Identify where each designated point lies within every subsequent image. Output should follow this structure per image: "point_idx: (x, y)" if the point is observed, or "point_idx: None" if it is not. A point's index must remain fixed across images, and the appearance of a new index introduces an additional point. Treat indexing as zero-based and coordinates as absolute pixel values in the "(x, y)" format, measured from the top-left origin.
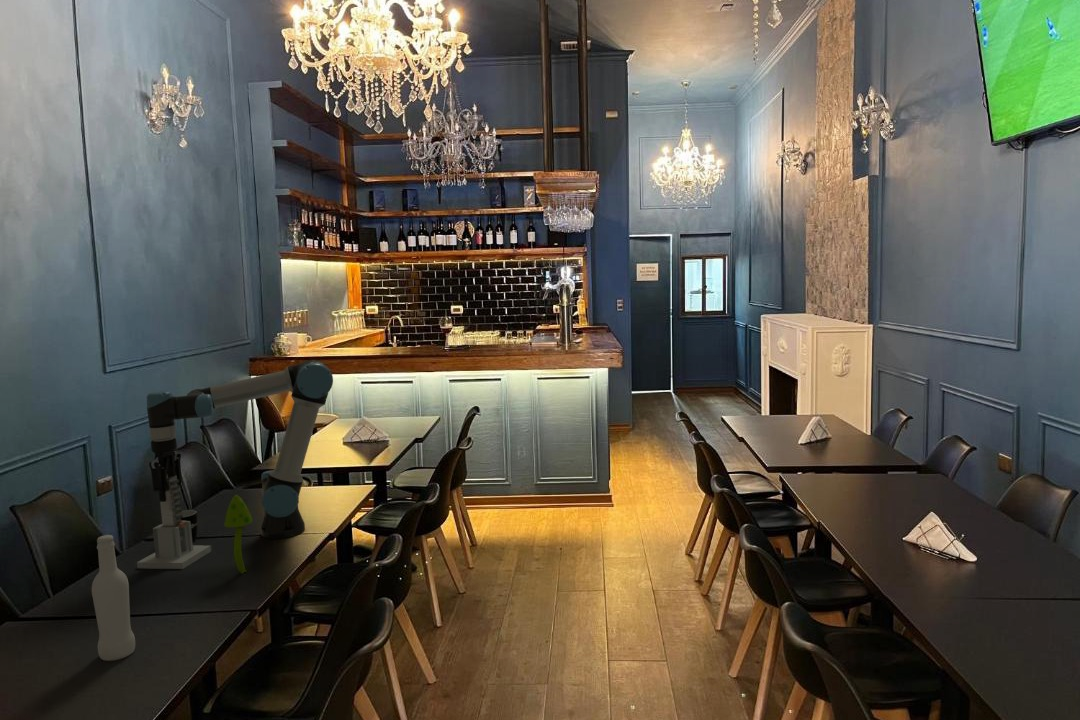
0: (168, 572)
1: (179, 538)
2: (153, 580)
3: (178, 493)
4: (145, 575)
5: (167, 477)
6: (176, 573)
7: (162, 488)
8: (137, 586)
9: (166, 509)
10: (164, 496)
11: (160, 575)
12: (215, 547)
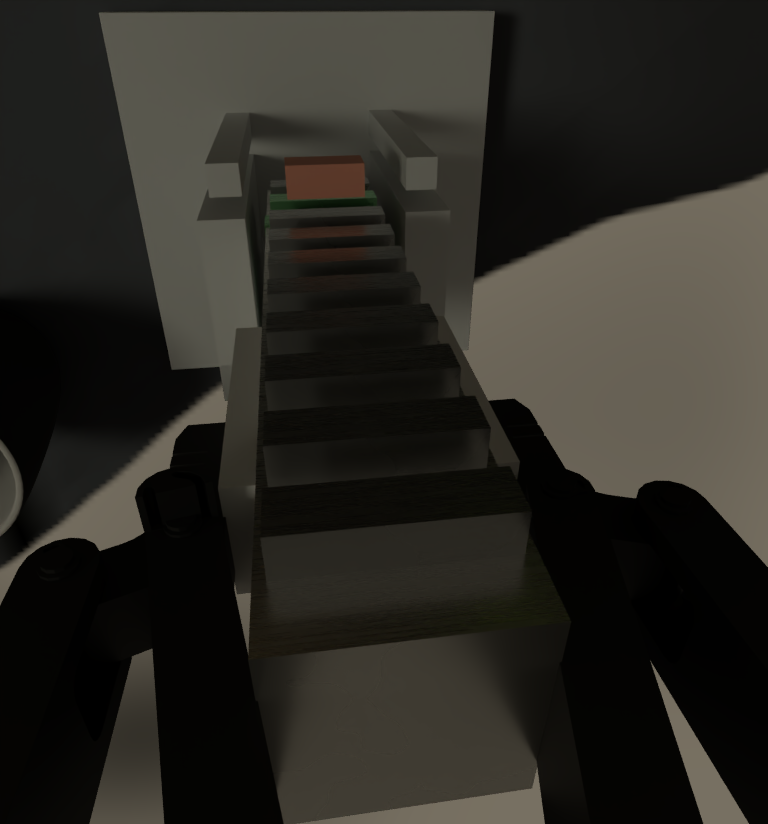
0: (536, 84)
1: (398, 135)
2: (661, 96)
3: (309, 362)
4: (570, 210)
5: (448, 709)
6: (560, 3)
7: (655, 512)
8: (737, 136)
9: None
10: (520, 441)
11: (582, 107)
12: (19, 34)
